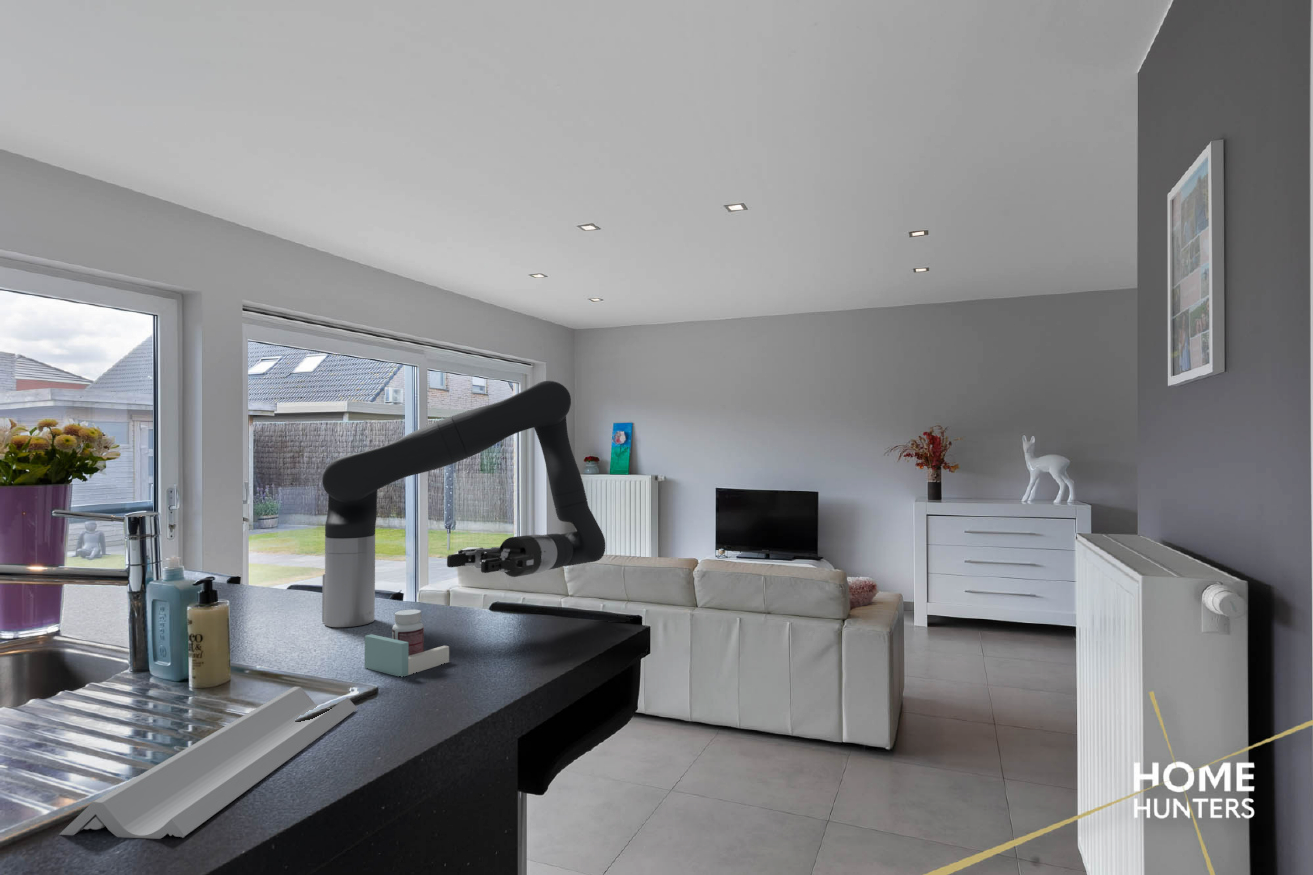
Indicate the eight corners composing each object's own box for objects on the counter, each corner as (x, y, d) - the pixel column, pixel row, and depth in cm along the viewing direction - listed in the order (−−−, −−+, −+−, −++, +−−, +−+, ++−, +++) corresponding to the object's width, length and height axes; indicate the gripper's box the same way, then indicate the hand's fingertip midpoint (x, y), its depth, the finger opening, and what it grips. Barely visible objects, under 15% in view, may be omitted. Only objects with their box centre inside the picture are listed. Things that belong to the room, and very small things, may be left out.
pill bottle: (430, 662, 116) (430, 610, 116) (407, 670, 112) (408, 616, 112) (408, 658, 118) (408, 607, 118) (385, 666, 114) (385, 613, 114)
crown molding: (182, 847, 63) (183, 806, 63) (55, 842, 64) (55, 801, 64) (356, 715, 94) (356, 687, 94) (268, 713, 95) (269, 685, 95)
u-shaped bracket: (364, 667, 113) (364, 635, 113) (412, 653, 121) (412, 623, 121) (401, 677, 108) (401, 643, 108) (449, 661, 116) (449, 630, 116)
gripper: (502, 532, 143) (438, 538, 129) (557, 538, 135) (495, 546, 122) (501, 570, 143) (436, 580, 129) (556, 578, 135) (493, 590, 121)
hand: (465, 564), depth 125 cm, fingers open, 8 cm apart
